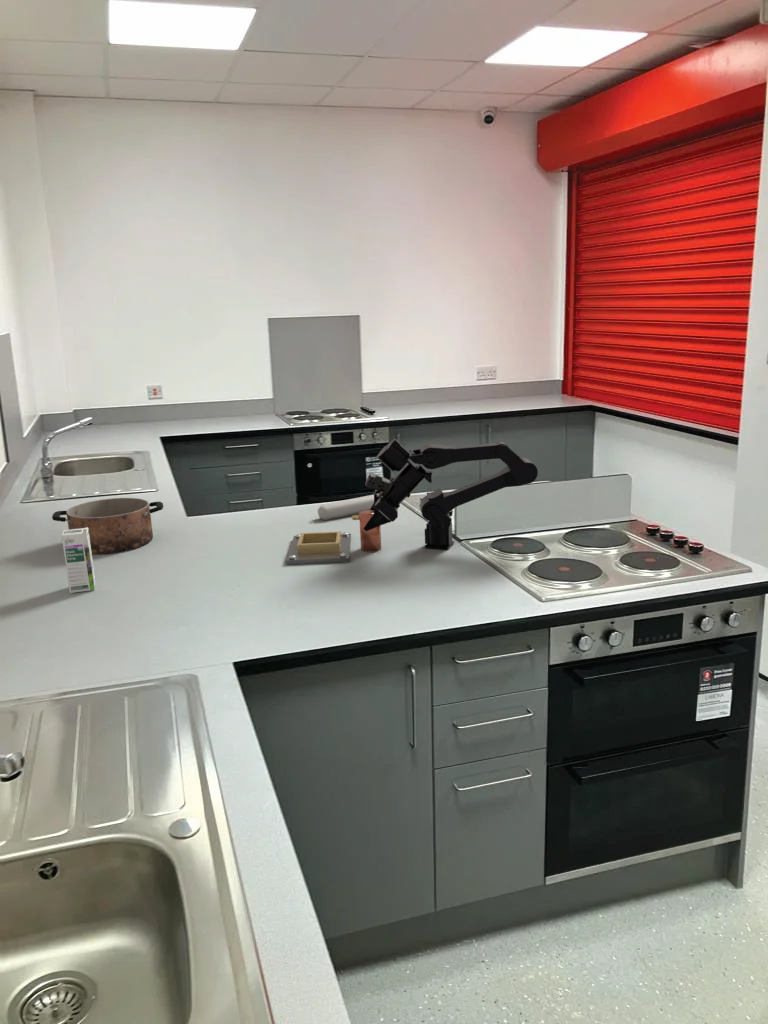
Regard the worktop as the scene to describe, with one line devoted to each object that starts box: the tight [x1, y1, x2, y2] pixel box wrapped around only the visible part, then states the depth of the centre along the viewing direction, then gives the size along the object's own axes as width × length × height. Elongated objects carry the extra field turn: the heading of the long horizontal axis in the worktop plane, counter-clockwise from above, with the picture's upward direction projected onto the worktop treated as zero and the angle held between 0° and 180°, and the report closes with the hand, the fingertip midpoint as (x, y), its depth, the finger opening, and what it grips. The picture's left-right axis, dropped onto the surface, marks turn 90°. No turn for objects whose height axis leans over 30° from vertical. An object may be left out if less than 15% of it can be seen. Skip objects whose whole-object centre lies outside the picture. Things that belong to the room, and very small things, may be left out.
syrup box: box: [61, 527, 96, 594], centre depth 196 cm, size 6×6×14 cm
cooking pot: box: [51, 497, 164, 556], centre depth 233 cm, size 30×22×11 cm
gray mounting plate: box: [285, 531, 352, 566], centre depth 220 cm, size 16×22×4 cm
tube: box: [317, 494, 374, 521], centre depth 256 cm, size 5×5×25 cm
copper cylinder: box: [351, 510, 382, 553], centre depth 219 cm, size 8×6×10 cm
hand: (364, 525), depth 218 cm, fingers open, 9 cm apart
